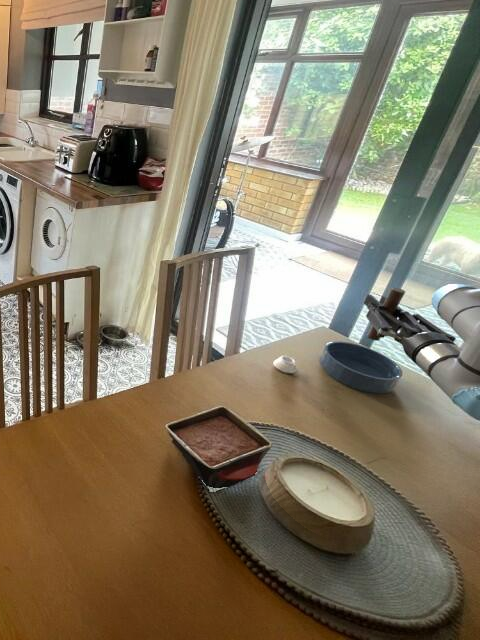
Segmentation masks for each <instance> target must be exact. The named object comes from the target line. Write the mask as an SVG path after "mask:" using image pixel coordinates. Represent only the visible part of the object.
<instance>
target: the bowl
mask: <svg viewBox="0 0 480 640" xmlns="http://www.w3.org/2000/svg"><path fill="white" fill-rule="evenodd" d="M318 361H319V365H320V366H321V367H322V369H323V370H324V372H325V373H327V374H328V375H329V376H330V377H331V378H333V379H334V380H336V381H338V382H339V383H341V384H343V385H345V386H347V387H349V388H352V389H354V390H358V391H361V392H365V393H371V394H388V393H391V392H393V391H394V390H395V389H396V387H397V385H398V384H399V382H400V380H401V379H402V377H403V370H402V368H401V366H400V365H398V364H397V362H395V361H394V360H393V359H391V358H389V357H388V356H387V355H385V354H383V353H381V352H379V351H376V350H375V349H372V348H370V347H367V346H364V345H360V344H357V343H353V342H348V341H331V342H328V343H327V344H325V345H324V348H323V350H322V352H321V354H320V356H319V359H318Z"/></svg>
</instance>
